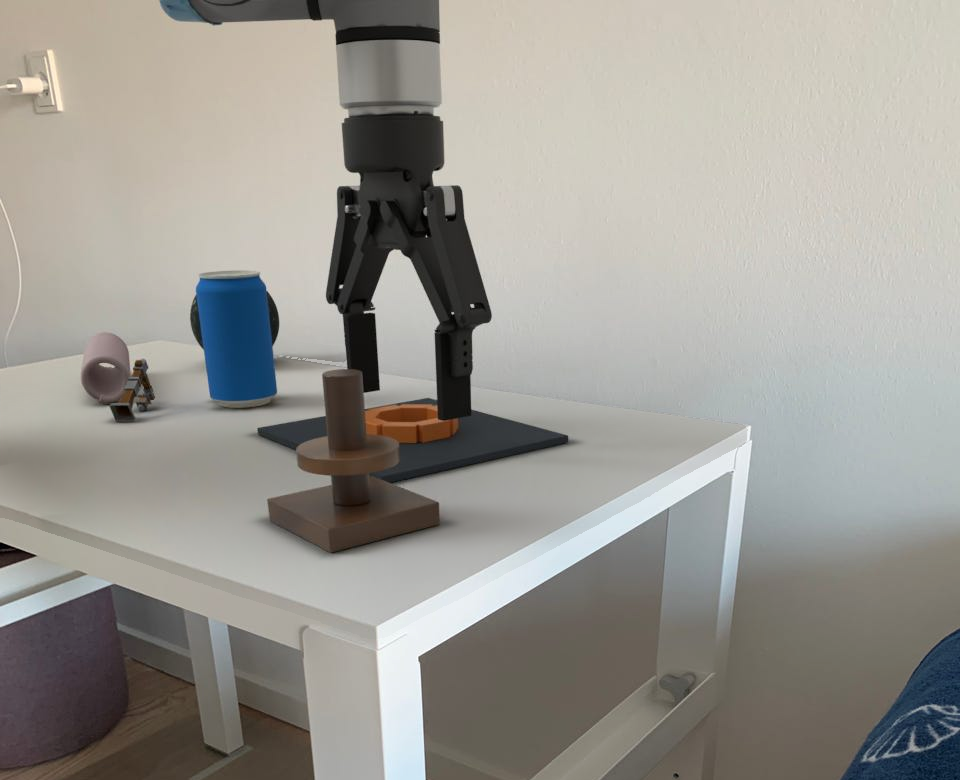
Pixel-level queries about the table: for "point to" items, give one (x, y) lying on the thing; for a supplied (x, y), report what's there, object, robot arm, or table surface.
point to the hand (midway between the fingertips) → (407, 404)
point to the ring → (409, 423)
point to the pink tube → (100, 379)
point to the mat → (437, 442)
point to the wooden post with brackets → (134, 393)
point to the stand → (350, 479)
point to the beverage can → (236, 338)
